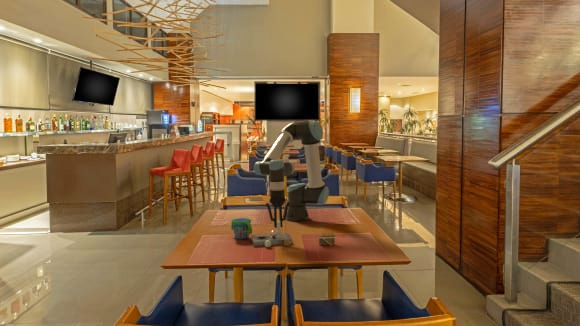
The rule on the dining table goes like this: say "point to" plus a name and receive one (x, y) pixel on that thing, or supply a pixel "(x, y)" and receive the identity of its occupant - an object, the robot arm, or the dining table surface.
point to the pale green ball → (267, 243)
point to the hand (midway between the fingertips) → (278, 233)
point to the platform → (326, 239)
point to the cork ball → (287, 242)
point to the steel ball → (273, 233)
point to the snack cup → (241, 228)
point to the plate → (270, 239)
